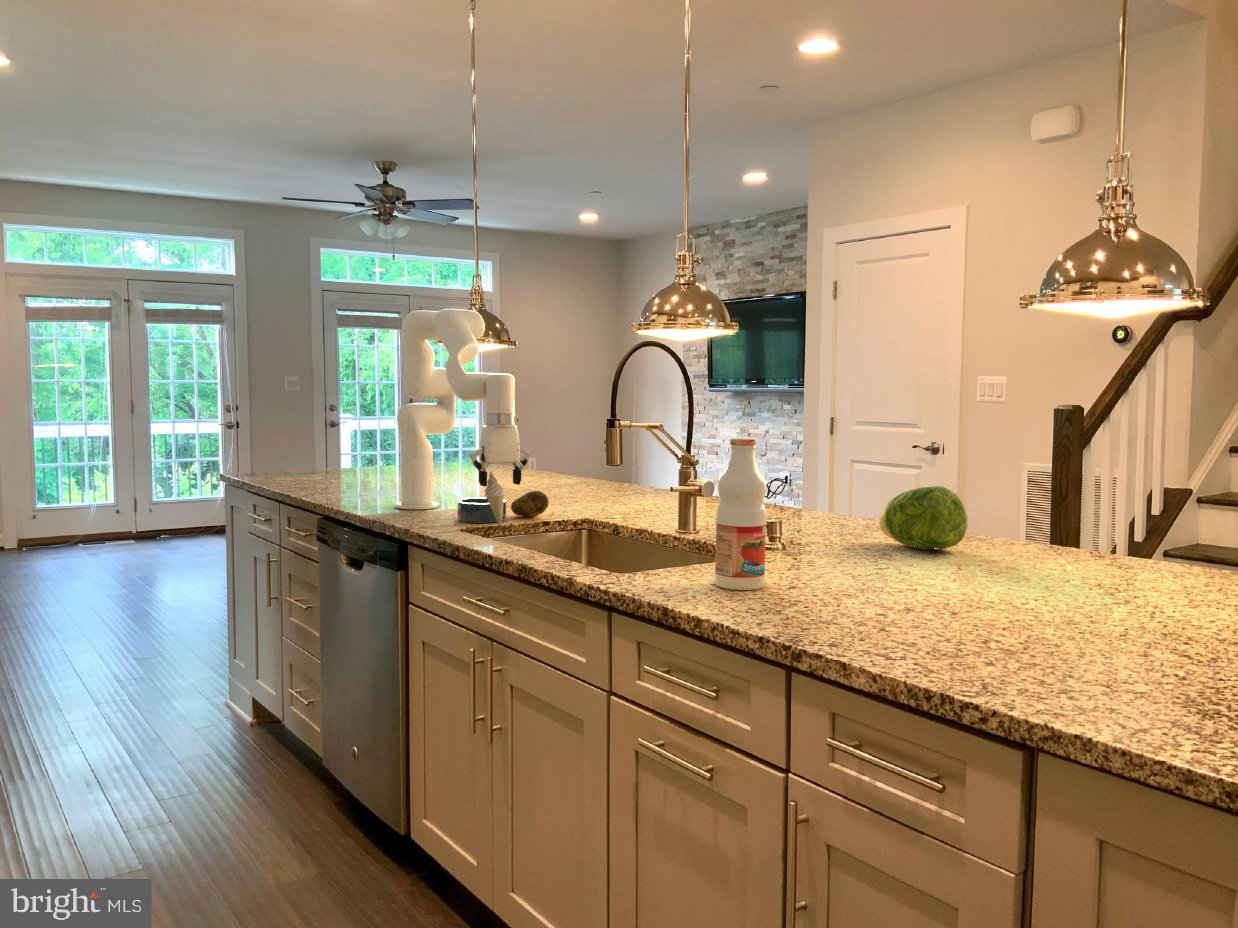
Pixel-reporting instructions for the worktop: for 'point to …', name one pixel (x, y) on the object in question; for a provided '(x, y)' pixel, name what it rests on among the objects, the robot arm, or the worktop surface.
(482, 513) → the bowl
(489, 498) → the ice cream cone
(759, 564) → the fruit juice
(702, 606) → the worktop surface
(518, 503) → the potato
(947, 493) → the lettuce
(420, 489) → the robot arm
